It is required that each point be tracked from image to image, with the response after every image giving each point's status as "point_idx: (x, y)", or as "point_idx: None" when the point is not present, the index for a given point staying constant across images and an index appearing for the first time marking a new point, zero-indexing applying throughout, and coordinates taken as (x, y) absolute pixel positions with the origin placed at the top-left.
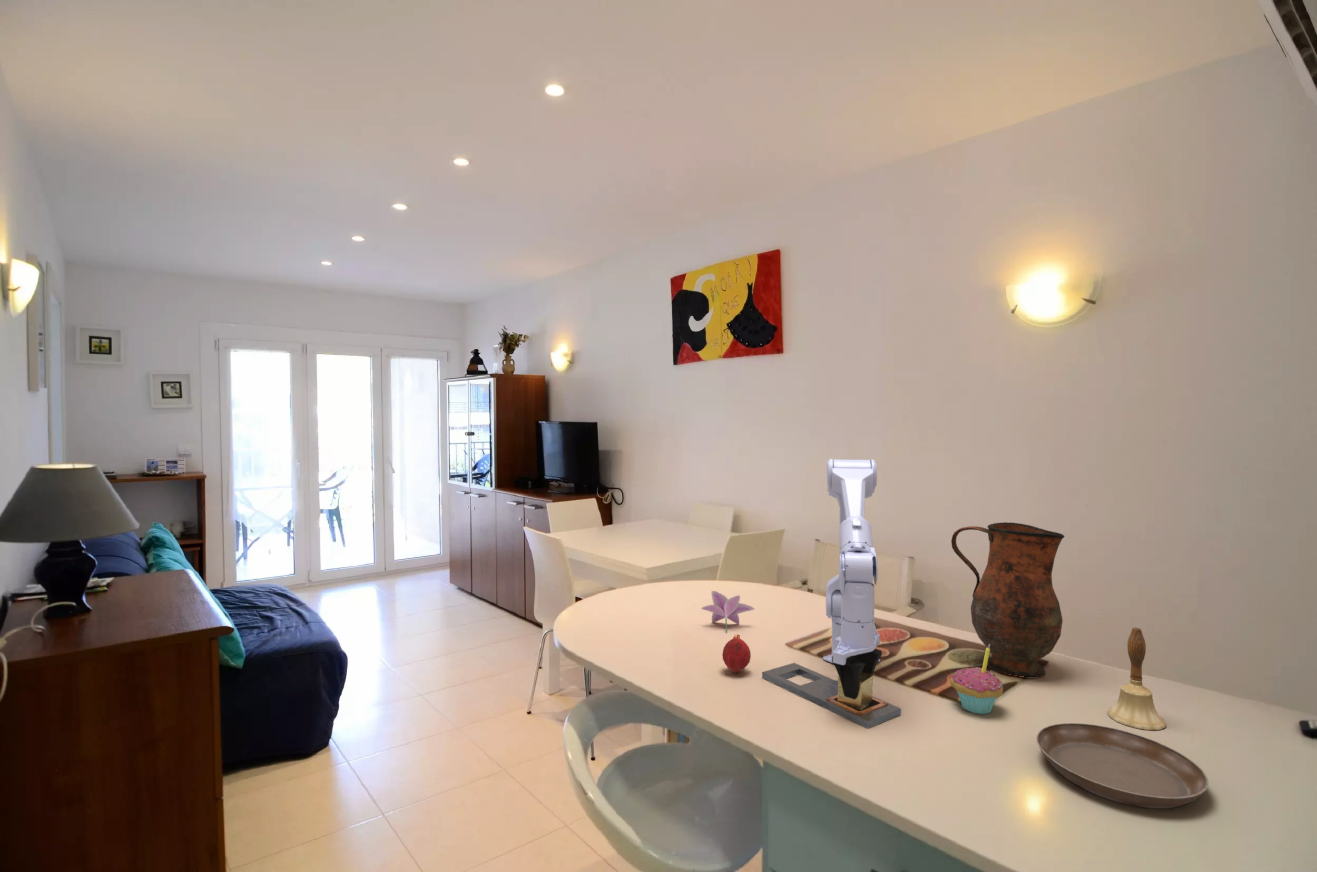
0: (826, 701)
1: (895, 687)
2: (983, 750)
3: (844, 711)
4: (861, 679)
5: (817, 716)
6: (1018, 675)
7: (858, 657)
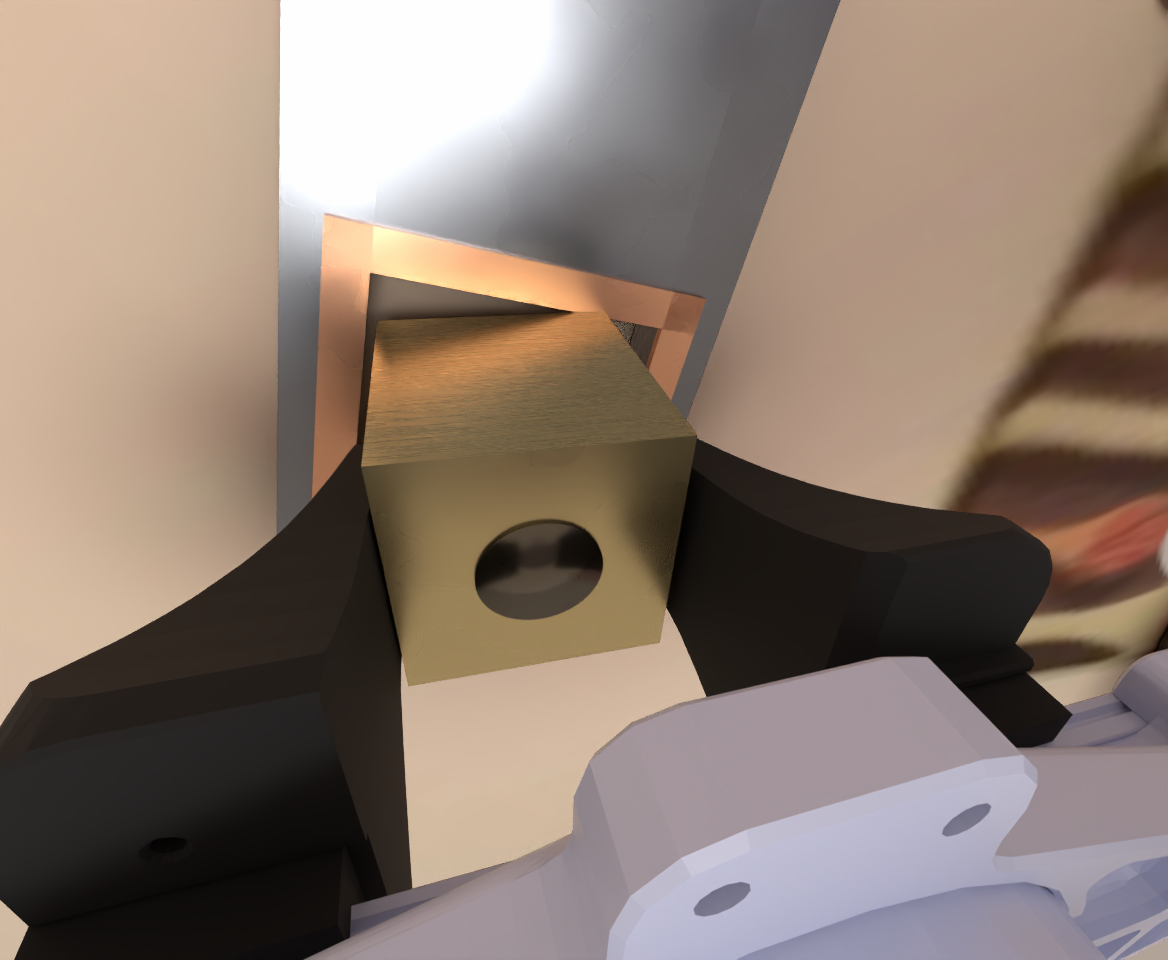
0: (293, 237)
1: (941, 405)
2: (512, 857)
3: (278, 448)
4: (484, 643)
5: (60, 257)
6: (1165, 647)
7: (772, 611)
